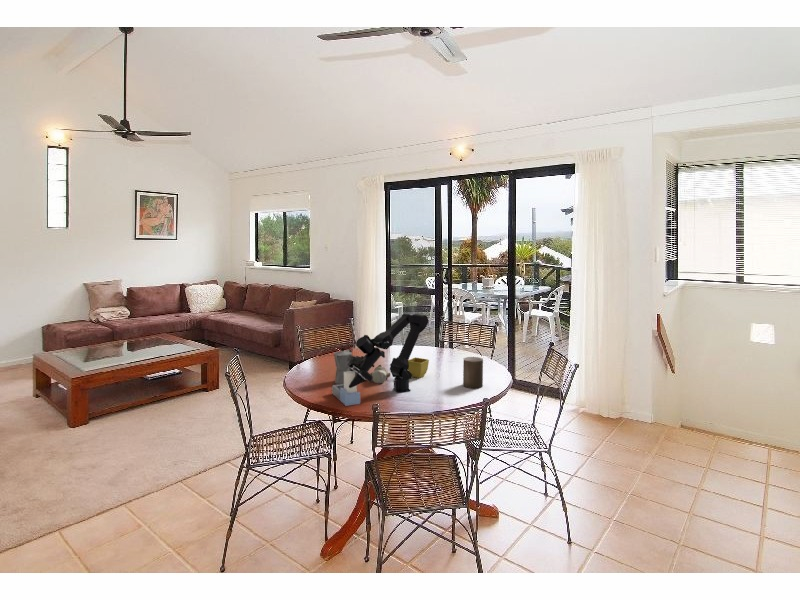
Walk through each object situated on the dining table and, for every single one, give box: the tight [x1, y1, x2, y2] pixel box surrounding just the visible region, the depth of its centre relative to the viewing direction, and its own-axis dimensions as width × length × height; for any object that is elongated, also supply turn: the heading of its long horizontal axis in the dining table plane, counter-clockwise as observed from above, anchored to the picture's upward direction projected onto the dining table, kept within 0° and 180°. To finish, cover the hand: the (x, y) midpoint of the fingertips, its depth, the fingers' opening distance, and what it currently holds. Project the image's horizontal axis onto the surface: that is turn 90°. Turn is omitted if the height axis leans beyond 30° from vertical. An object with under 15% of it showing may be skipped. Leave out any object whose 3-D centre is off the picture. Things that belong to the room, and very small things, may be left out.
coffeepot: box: [333, 347, 353, 385], centre depth 249 cm, size 15×9×18 cm, turn 159°
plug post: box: [344, 371, 358, 394], centre depth 219 cm, size 4×4×12 cm
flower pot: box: [408, 357, 430, 379], centre depth 258 cm, size 9×9×9 cm
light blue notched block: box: [339, 388, 361, 407], centre depth 219 cm, size 7×9×6 cm
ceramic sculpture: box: [369, 364, 392, 384], centre depth 251 cm, size 11×9×15 cm
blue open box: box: [331, 384, 344, 401], centre depth 227 cm, size 7×11×4 cm, turn 26°
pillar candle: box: [462, 356, 484, 389], centre depth 242 cm, size 10×10×15 cm
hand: (347, 386), depth 218 cm, fingers closed on plug post, 4 cm apart
